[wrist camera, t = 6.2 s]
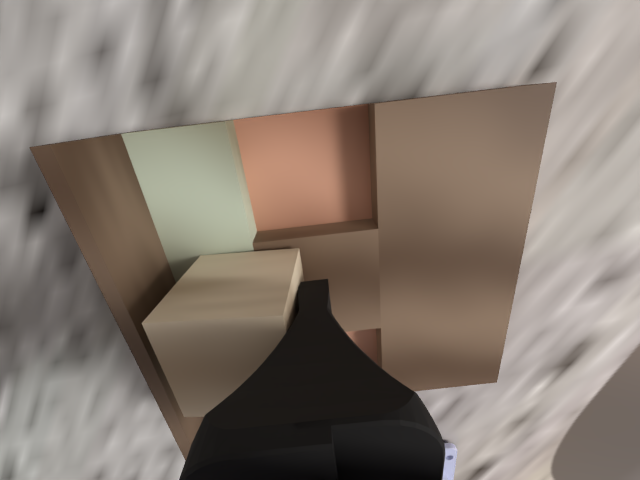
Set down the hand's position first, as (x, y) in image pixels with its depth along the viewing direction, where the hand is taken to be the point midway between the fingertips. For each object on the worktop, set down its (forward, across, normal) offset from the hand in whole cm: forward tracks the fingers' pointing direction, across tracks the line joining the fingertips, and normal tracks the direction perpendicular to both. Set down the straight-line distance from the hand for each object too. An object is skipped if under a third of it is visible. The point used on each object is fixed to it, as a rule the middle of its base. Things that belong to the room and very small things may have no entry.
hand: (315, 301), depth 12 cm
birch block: (+1, +2, 0) cm, 3 cm away
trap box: (+2, -1, 0) cm, 3 cm away
